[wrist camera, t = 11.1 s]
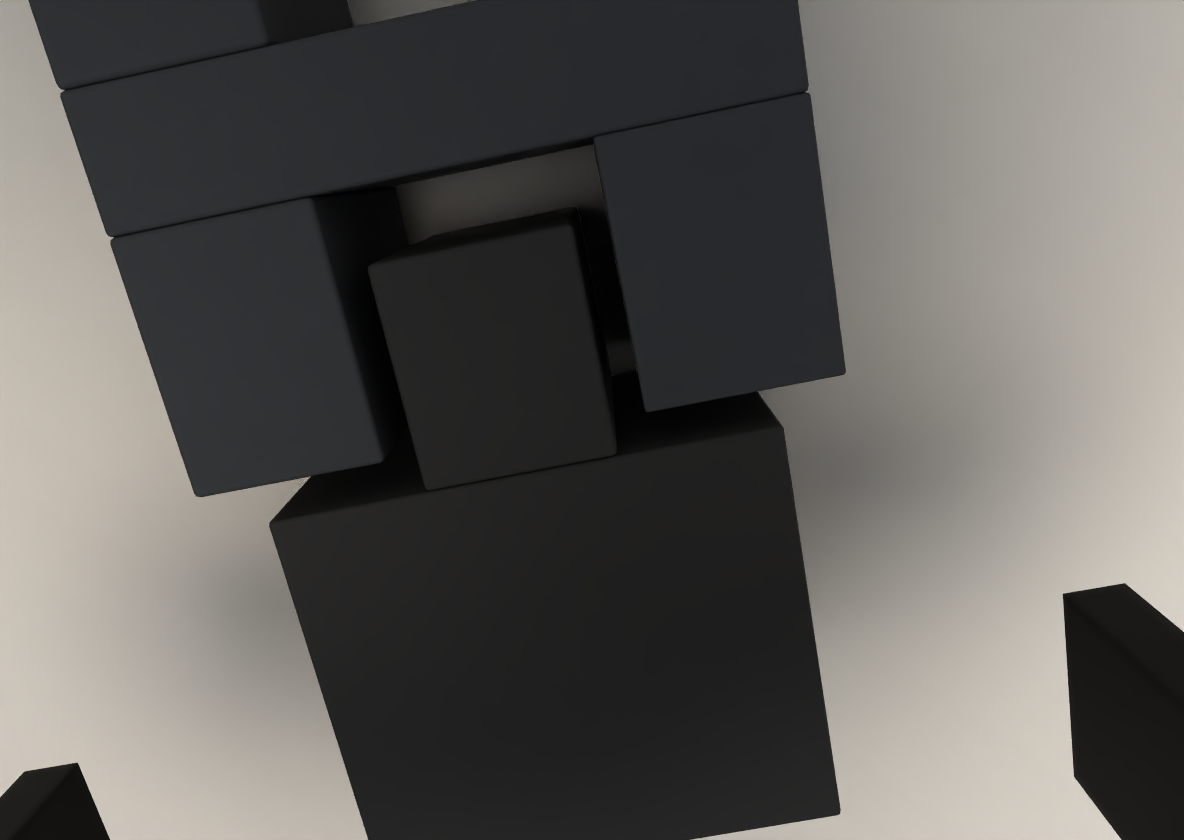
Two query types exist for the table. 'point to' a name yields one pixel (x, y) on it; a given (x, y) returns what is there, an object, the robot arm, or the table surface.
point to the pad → (555, 576)
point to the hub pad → (422, 151)
